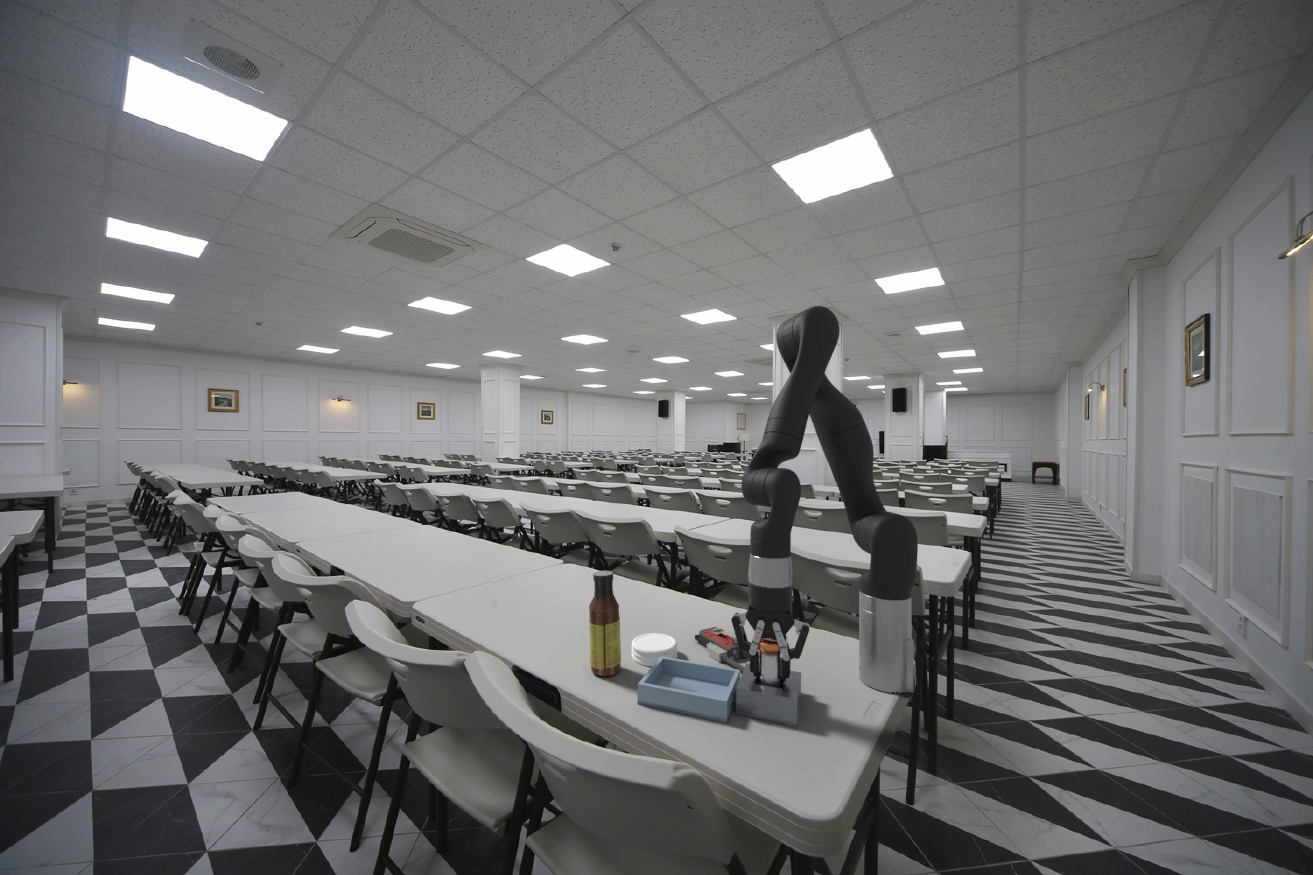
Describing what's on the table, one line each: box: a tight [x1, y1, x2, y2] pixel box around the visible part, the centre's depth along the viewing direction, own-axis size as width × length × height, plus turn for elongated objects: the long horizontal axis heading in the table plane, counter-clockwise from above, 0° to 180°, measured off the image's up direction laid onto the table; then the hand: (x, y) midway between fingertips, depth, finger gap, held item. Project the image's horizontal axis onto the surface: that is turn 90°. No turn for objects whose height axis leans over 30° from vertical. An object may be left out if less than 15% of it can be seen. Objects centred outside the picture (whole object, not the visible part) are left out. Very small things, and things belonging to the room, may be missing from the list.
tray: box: [637, 656, 741, 724], centre depth 87 cm, size 16×12×4 cm
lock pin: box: [758, 638, 781, 688], centre depth 84 cm, size 4×4×12 cm
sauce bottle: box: [588, 570, 622, 677], centre depth 97 cm, size 6×6×20 cm
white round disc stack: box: [630, 632, 678, 668], centre depth 103 cm, size 10×10×4 cm
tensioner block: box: [735, 656, 802, 728], centre depth 85 cm, size 10×12×6 cm
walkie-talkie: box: [694, 626, 750, 672], centre depth 104 cm, size 9×4×20 cm
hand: (769, 676), depth 84 cm, fingers open, 4 cm apart
